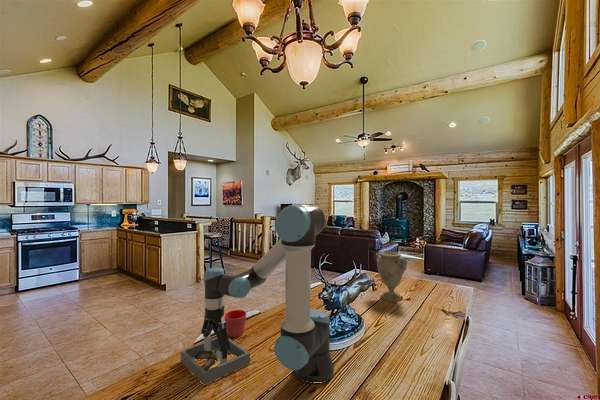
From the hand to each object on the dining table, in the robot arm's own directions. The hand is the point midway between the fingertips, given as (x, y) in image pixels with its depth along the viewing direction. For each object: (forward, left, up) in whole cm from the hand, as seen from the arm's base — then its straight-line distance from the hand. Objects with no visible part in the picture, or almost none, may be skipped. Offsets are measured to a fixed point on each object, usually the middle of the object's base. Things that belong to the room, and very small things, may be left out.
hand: (215, 358), depth 115 cm
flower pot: (+16, -19, -2) cm, 25 cm away
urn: (-13, -118, -2) cm, 119 cm away
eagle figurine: (0, +3, -2) cm, 4 cm away
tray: (0, 0, -2) cm, 2 cm away
